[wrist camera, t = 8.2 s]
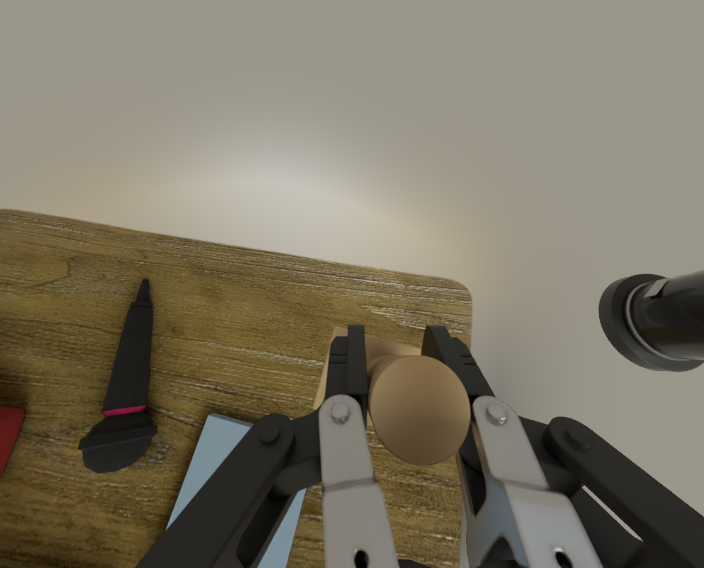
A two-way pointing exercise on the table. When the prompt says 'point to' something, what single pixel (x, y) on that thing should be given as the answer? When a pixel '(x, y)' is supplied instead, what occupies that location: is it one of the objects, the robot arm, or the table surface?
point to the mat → (208, 457)
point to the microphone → (125, 397)
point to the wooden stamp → (410, 401)
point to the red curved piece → (9, 432)
